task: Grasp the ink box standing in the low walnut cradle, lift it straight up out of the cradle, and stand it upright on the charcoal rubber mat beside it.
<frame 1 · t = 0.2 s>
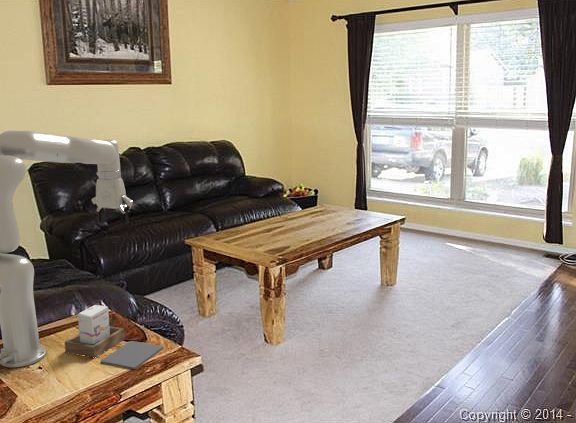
hand: (114, 222, 199), 31 cm above the table, tool pointing down, fingers open, 9 cm apart
rubber mat: (132, 355, 165), on the table
walnut cradle: (96, 345, 172), on the table
ink box: (96, 346, 172), resting in walnut cradle
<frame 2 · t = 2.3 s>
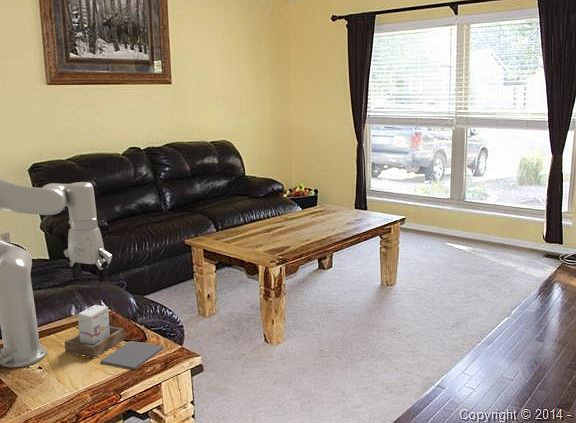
hand: (90, 279, 168), 21 cm above the table, tool pointing down, fingers open, 9 cm apart
nothing on the table moved.
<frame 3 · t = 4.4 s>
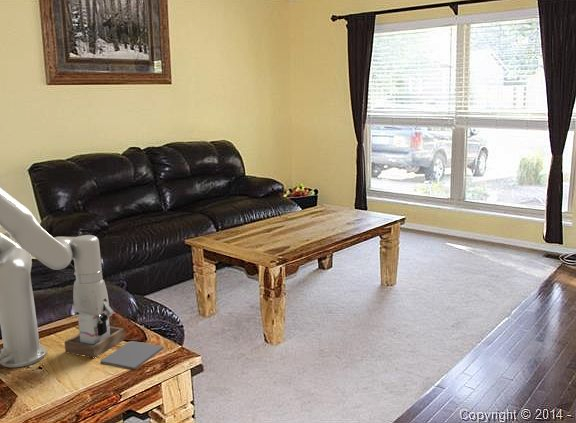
hand: (95, 332, 171), 4 cm above the table, tool pointing down, fingers closed on ink box, 5 cm apart
ink box: (96, 346, 172), resting in walnut cradle, touching gripper
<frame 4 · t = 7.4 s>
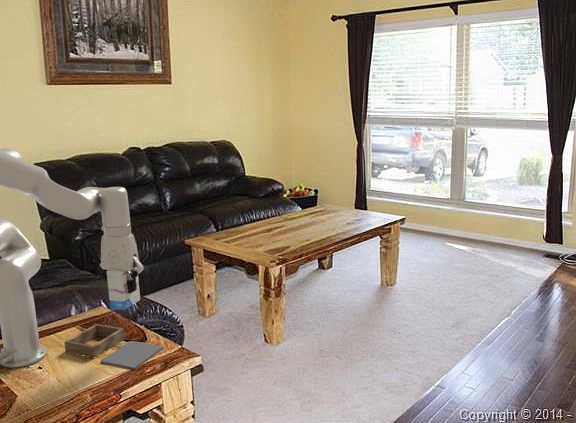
hand: (124, 290, 162), 20 cm above the table, tool pointing down, fingers closed on ink box, 5 cm apart
ink box: (126, 305, 163), point 15 cm above the table, touching gripper
when the fingers open (6 cm above the table, at t = 10.4 s): ink box drops 1 cm, resting on rubber mat.
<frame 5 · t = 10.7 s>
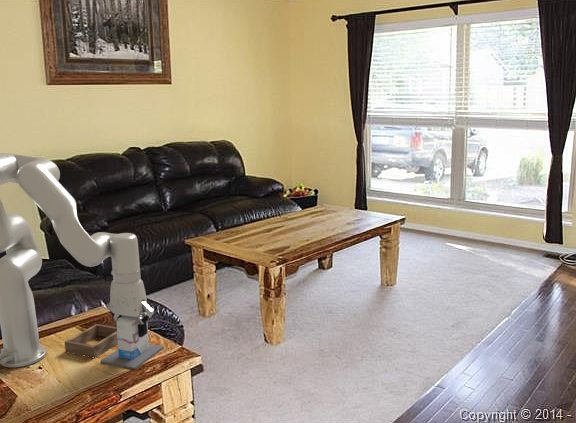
hand: (132, 333, 164), 7 cm above the table, tool pointing down, fingers open, 7 cm apart
ink box: (134, 353, 165), resting on rubber mat
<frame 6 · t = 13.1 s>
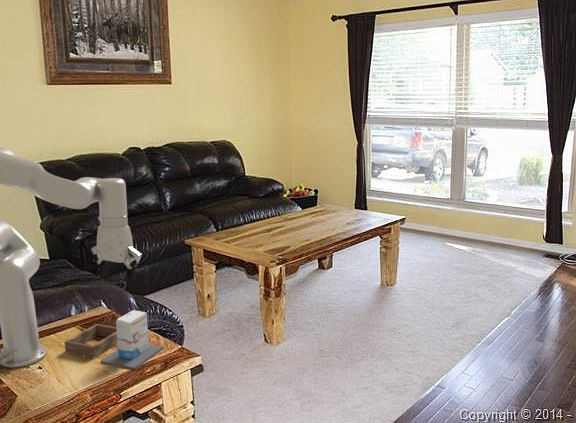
hand: (117, 278, 163), 23 cm above the table, tool pointing down, fingers open, 9 cm apart
nothing on the table moved.
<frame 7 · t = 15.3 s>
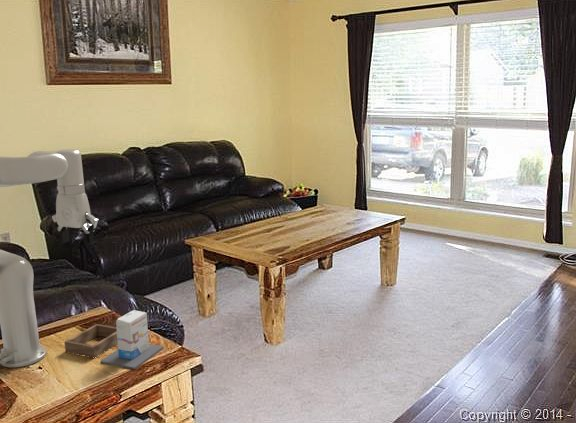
hand: (77, 243, 174), 30 cm above the table, tool pointing down, fingers open, 9 cm apart
nothing on the table moved.
at the end: ink box inside the target area on the rubber mat (0.2 cm from its centre), point 0.4 cm above the rubber mat's base; ink box tilted 0°; the gripper is holding nothing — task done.
